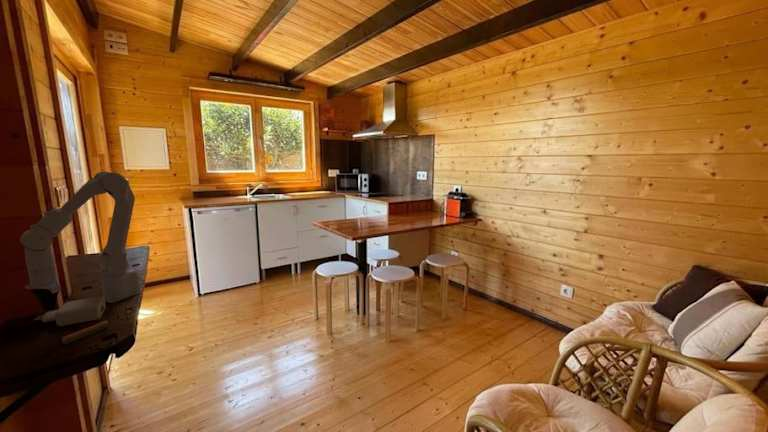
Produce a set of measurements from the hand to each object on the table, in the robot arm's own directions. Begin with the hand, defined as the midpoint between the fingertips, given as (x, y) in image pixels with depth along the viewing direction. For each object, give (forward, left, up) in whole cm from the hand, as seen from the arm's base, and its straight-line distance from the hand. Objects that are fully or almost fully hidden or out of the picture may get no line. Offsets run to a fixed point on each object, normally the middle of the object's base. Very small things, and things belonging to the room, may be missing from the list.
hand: (49, 309), depth 100 cm
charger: (-2, +8, -2) cm, 9 cm away
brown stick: (+1, +23, -2) cm, 23 cm away
